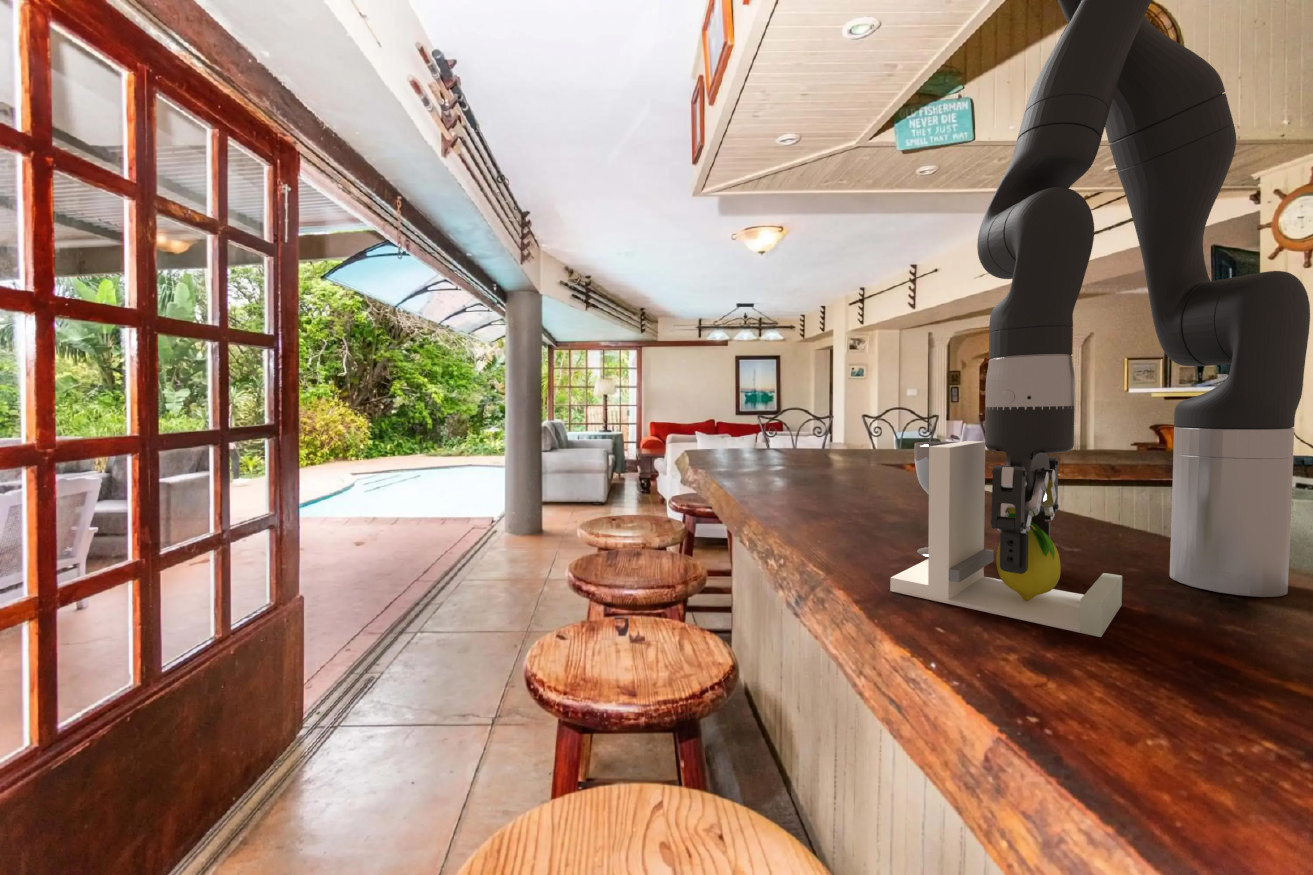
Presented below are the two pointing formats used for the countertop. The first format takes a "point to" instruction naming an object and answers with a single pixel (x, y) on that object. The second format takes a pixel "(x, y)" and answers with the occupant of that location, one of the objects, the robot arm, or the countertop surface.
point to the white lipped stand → (988, 555)
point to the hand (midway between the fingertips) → (1025, 563)
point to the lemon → (1034, 566)
